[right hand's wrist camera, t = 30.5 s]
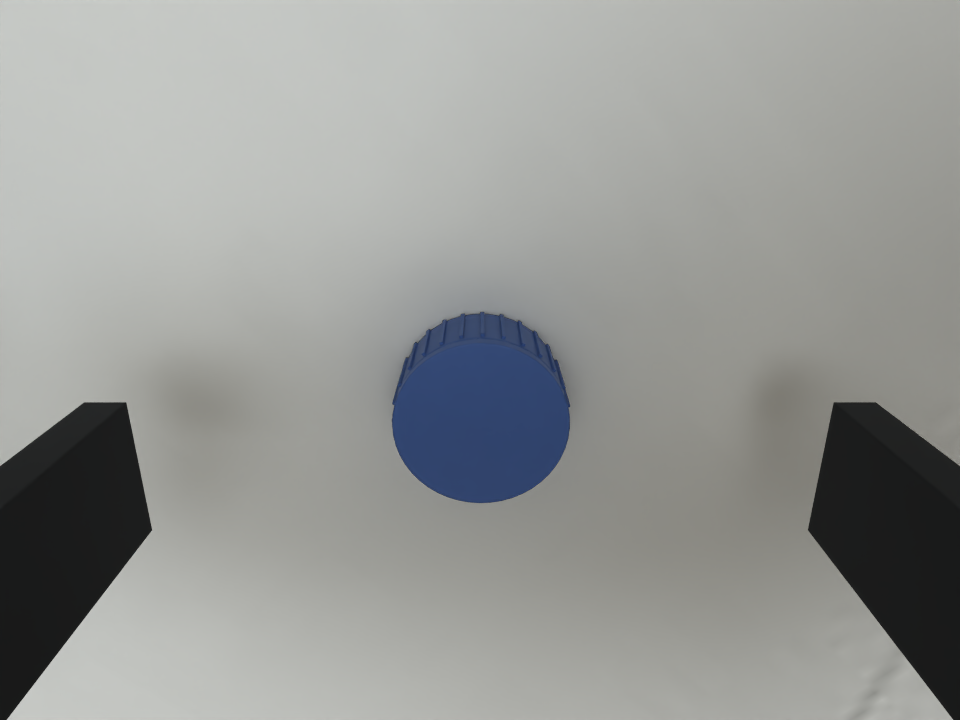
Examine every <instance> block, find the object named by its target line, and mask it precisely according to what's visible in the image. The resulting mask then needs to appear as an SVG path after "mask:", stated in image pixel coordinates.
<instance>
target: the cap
mask: <svg viewBox="0 0 960 720" xmlns="http://www.w3.org/2000/svg"><path fill="white" fill-rule="evenodd" d="M393 405H394V410H393V418H392V427H393V436H394V440H395V444H396V447H397V449H398V452H399V454H400V456H401V458H402V460H403V461H404V463H405V465H406V466H407V467H408V469H409V470H410V471H411V472H412V474H413V475H414V476H415V477H416V478H417V479H418V480H419V481H421V482H422V483H423V484H425V485H426V486H427V487H429V488H430V489H432V490H434V491H436V492H437V493H439V494H442V495H444V496H446V497H449V498H452V499H456V500H460V501H465V502H473V503H490V502H497V501H503V500H506V499H510V498H513V497H516V496H518V495H520V494H523V493H525V492H526V491H528V490H530V489H532V488H533V487H535V486H536V485H537V484H539V483H540V482H541V481H542V480H543V479H545V478H546V477H547V476H548V475H549V474H550V472H551V471H552V470H553V469H554V468H555V466H556V465H557V463H558V462H559V460H560V458H561V456H562V454H563V452H564V450H565V447H566V444H567V441H568V436H569V429H570V416H569V409H568V407H570V403H569V400H568V397H567V393H566V390H565V385H564V381H563V378H562V375H561V371H560V368H559V365H558V362H557V360H554V359H553V357H552V354H551V350H550V347H549V345H548V344H547V345H545V344H544V343H543V342H542V340H541V339H540V338H539V337H538V334H537V332H536V331H534V332H532V331H531V330H529V329H528V328H526V327H525V326H523V325H522V322H520V321H518V322H516V321H514V320H511V319H508V318H505V317H504V315H501V314H500V316H496V315H489V314H484V312H480V314H472V315H466V316H465V314H461V317H457V318H454V319H451V320H449V321H446V320H443V322H442V324H440V325H439V326H437V327H435V328H434V329H432V330H430V329H429V330H427V332H426V335H425V336H424V337H423V338H422V339H421V340H420V341H419V342H418V343H417V342H415V344H414V346H413V350H412V352H411V354H410V356H409V358H406V359H405V362H404V365H403V368H402V372H401V375H400V378H399V382H398V385H397V389H396V392H395V396H394V399H393Z"/></svg>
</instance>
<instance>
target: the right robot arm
mask: <svg viewBox="0 0 960 720" xmlns="http://www.w3.org/2000/svg"><path fill="white" fill-rule="evenodd" d="M151 531H152V528H151V523H150V518H149V513H148V508H147V503H146V498H145V493H144V488H143V483H142V478H141V473H140V468H139V463H138V458H137V454H136V449H135V444H134V439H133V434H132V429H131V424H130V419H129V414H128V409H127V404H126V403H83V404H82V405H80V406H79V407H78V408H76V409H75V410H74V411H72V412H71V413H70V414H68V415H67V416H66V417H65V418H63V419H62V420H61V421H59V422H58V423H57V424H55V425H54V426H53V427H51V428H50V429H49V430H47V431H46V432H45V433H43V434H42V435H41V436H40V437H38V438H37V439H36V440H34V441H33V442H32V443H30V444H29V445H28V446H26V447H25V448H24V449H22V450H21V451H20V452H18V453H17V454H16V455H14V456H13V457H12V458H11V459H9V460H8V461H7V462H5V463H4V464H3V465H1V466H0V720H7V719H8V717H9V716H10V715H11V713H12V712H13V711H14V709H15V708H16V707H17V705H18V704H19V703H20V702H21V700H22V699H23V698H24V696H25V695H26V694H27V692H28V691H29V690H30V689H31V687H32V686H33V685H34V683H35V682H36V681H37V679H38V678H39V677H40V675H41V674H42V673H43V672H44V670H45V669H46V668H47V666H48V665H49V664H50V662H51V661H52V660H53V659H54V657H55V656H56V655H57V653H58V652H59V651H60V649H61V648H62V647H63V645H64V644H65V643H66V642H67V640H68V639H69V638H70V636H71V635H72V634H73V632H74V631H75V630H76V629H77V627H78V626H79V625H80V623H81V622H82V621H83V619H84V618H85V617H86V615H87V614H88V613H89V612H90V610H91V609H92V608H93V606H94V605H95V604H96V602H97V601H98V600H99V599H100V597H101V596H102V595H103V593H104V592H105V591H106V589H107V588H108V587H109V585H110V584H111V583H112V582H113V580H114V579H115V578H116V576H117V575H118V574H119V572H120V571H121V570H122V569H123V567H124V566H125V565H126V563H127V562H128V561H129V559H130V558H131V557H132V555H133V554H134V553H135V552H136V550H137V549H138V548H139V546H140V545H141V544H142V542H143V541H144V540H145V539H146V537H147V536H148V535H149V533H150V532H151ZM808 531H809V532H810V533H811V535H812V536H813V537H814V539H815V540H816V541H817V542H818V544H819V545H820V546H821V548H822V549H823V550H824V552H825V553H826V554H827V555H828V557H829V558H830V559H831V561H832V562H833V563H834V565H835V566H836V567H837V569H838V570H839V571H840V572H841V574H842V575H843V576H844V578H845V579H846V580H847V582H848V583H849V584H850V585H851V587H852V588H853V589H854V591H855V592H856V593H857V595H858V596H859V597H860V599H861V600H862V601H863V602H864V604H865V605H866V606H867V608H868V609H869V610H870V612H871V613H872V614H873V615H874V617H875V618H876V619H877V621H878V622H879V623H880V625H881V626H882V627H883V629H884V630H885V631H886V632H887V634H888V635H889V636H890V638H891V639H892V640H893V642H894V643H895V644H896V645H897V647H898V648H899V649H900V651H901V652H902V653H903V655H904V656H905V657H906V659H907V660H908V661H909V662H910V664H911V665H912V666H913V668H914V669H915V670H916V672H917V673H918V674H919V675H920V677H921V678H922V679H923V681H924V682H925V683H926V685H927V686H928V687H929V689H930V690H931V691H932V692H933V694H934V695H935V696H936V698H937V699H938V700H939V702H940V703H941V704H942V705H943V707H944V708H945V709H946V711H947V712H948V713H949V715H950V716H951V717H952V719H953V720H960V466H959V465H957V464H956V463H955V462H953V461H952V460H951V459H949V458H948V457H947V456H946V455H944V454H943V453H942V452H940V451H939V450H938V449H936V448H935V447H934V446H932V445H931V444H930V443H928V442H927V441H926V440H924V439H923V438H922V437H920V436H919V435H918V434H917V433H915V432H914V431H913V430H911V429H910V428H909V427H907V426H906V425H905V424H903V423H902V422H901V421H899V420H898V419H897V418H895V417H894V416H893V415H891V414H890V413H889V412H888V411H886V410H885V409H884V408H882V407H881V406H880V405H878V404H877V403H834V404H833V409H832V414H831V419H830V424H829V429H828V434H827V439H826V444H825V449H824V453H823V458H822V463H821V468H820V473H819V478H818V483H817V488H816V493H815V498H814V503H813V508H812V513H811V518H810V523H809V527H808Z"/></svg>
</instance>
